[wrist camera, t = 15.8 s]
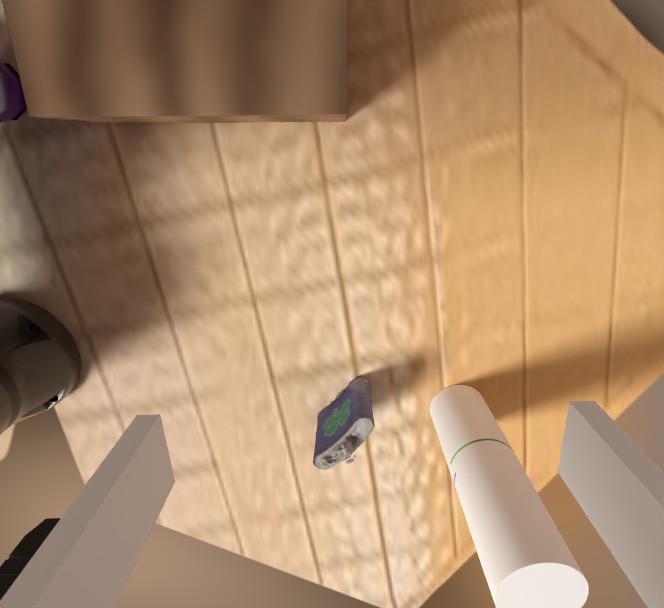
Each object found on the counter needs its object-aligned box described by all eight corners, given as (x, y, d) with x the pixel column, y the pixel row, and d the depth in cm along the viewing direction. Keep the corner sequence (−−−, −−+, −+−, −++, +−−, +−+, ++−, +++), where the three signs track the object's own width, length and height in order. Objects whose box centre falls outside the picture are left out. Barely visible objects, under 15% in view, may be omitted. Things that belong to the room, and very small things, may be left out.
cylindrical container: (429, 431, 58) (491, 627, 35) (430, 385, 56) (498, 563, 32) (482, 429, 58) (581, 625, 34) (486, 383, 55) (595, 561, 32)
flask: (359, 371, 55) (364, 423, 45) (376, 385, 56) (384, 439, 46) (312, 416, 58) (307, 475, 48) (329, 429, 58) (327, 489, 48)
